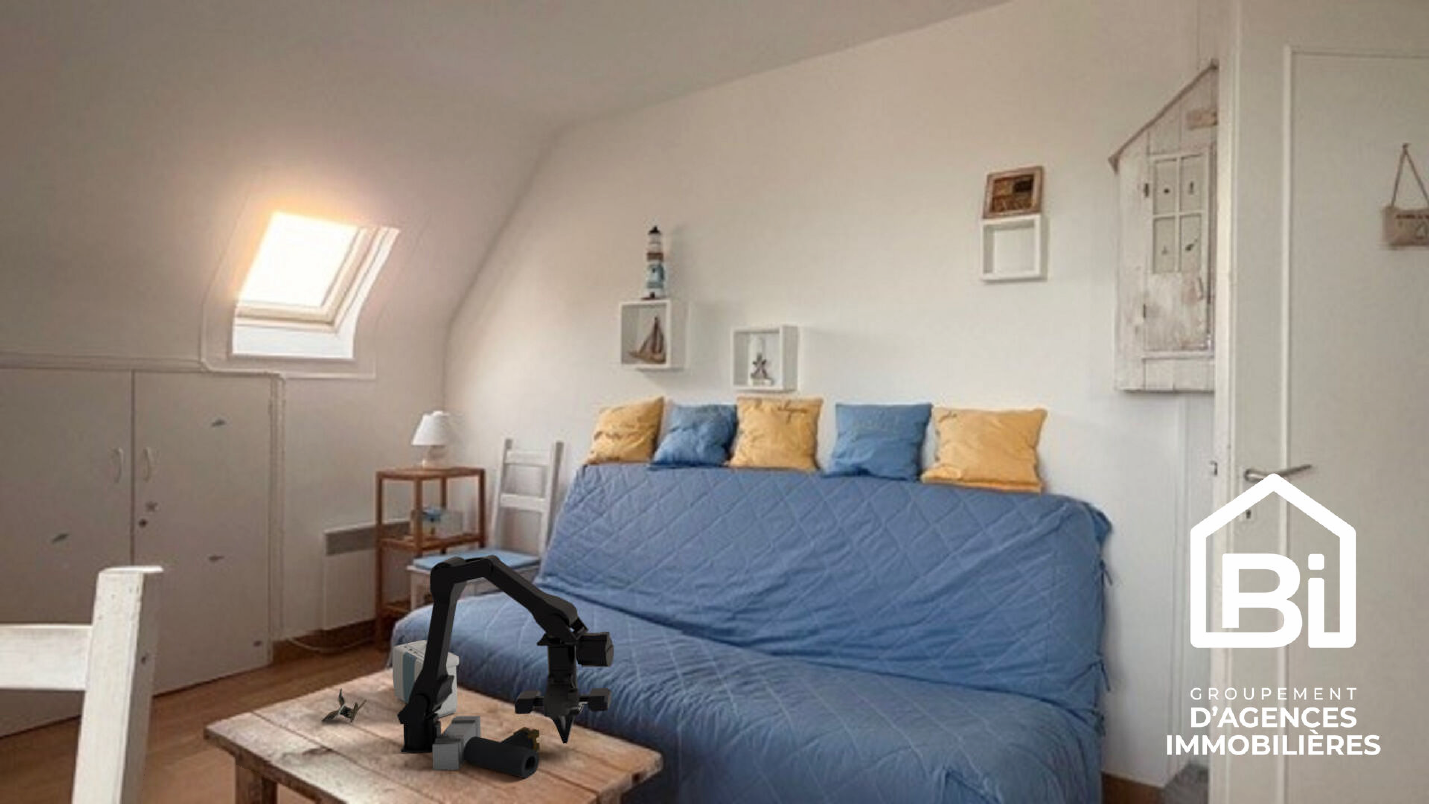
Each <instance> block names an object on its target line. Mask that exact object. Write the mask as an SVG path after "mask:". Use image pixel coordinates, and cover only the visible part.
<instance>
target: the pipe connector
mask: <svg viewBox="0 0 1429 804" xmlns="http://www.w3.org/2000/svg"><path fill="white" fill-rule="evenodd" d="M538 738H540V729H536V728H534V729H532V730H531V729H530V728H529V727H527V726H523V727H521V728H520V729H518V730H516V731H515V732H513V733H512V734H511V735H510V736H508V737H506V738H504V739H502V740H501V741H499V740H498V741H497V740H493V739H488V738H485V737H482V736H481V737H477V736H474V737H472V738H470V739H469V740H468V742H467V743H466V745H465V747H464V752H463V757H464V760H465V762H466V763H467V764H471V765H474V766H478V767H482V768H486V769H489V770H494V771H496V772H500V773H505V774H508V775H513V776H516V777H520V778H524V779H528V778H530V777H532V776H533V775H534V774H535V773H536V772H537V769H538V768H539V763H540V755H539V753H538V751H540V750H541V745H540V742H538V741H537V739H538Z"/></svg>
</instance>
